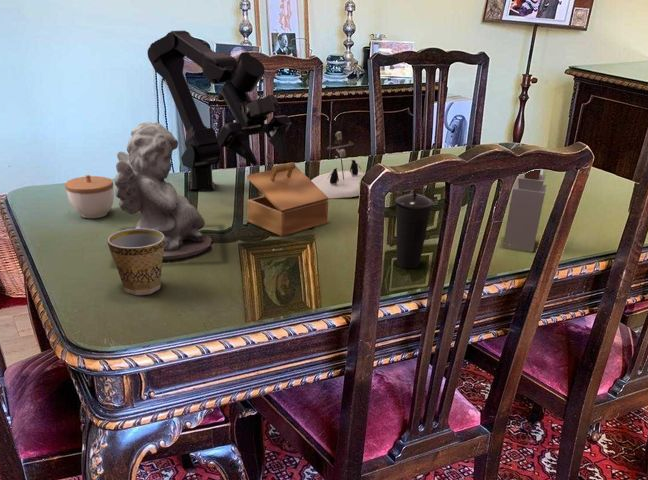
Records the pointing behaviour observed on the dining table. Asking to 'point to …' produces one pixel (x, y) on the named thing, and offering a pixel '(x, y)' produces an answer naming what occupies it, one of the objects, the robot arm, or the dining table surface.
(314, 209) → the chest
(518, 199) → the perfume bottle
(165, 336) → the dining table surface
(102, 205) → the trinket box
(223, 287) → the dining table surface
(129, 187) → the angel statue
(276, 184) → the lid
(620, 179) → the dining table surface
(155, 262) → the ceramic cup
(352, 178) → the figurine
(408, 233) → the drinking cup
